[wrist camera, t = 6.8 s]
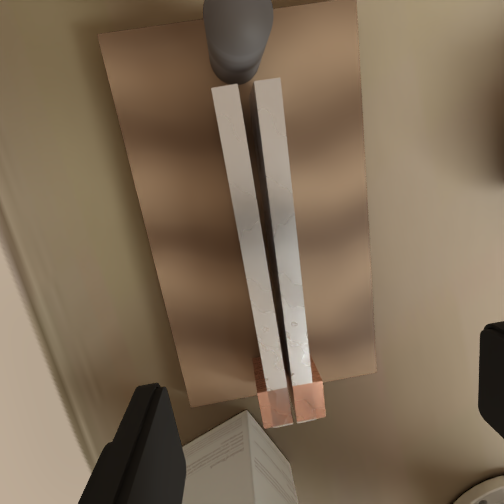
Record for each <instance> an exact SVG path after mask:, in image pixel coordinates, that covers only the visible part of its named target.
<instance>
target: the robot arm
mask: <svg viewBox="0 0 504 504" xmlns="http://www.w3.org/2000/svg"><path fill="white" fill-rule="evenodd" d="M478 408H479V412H480V414H481V416H482V417H483V419H484V420H485V421H486V422H487V423H488V424H489V425H490V426H491V427H492V428H493V429H494V430H495V431H496V432H498V433H499V434H500V435H501V436H502V437H503V438H504V321H503V322H497V323H491V324H488V325H486V326H485V327H484V330H483V331H482V332H481V333H480V357H479V393H478ZM185 480H186V460H185V456H184V452H183V449H182V445H181V441H180V437H179V433H178V429H177V426H176V422H175V418H174V414H173V410H172V407H171V403H170V399H169V395H168V391H167V389H166V387H160V385H159V383H153V384H148V385H142V386H138V387H137V388H136V389H135V392H134V394H133V396H132V399H131V401H130V403H129V405H128V408H127V410H126V412H125V414H124V417H123V419H122V421H121V423H120V426H119V428H118V430H117V432H116V435H115V437H114V439H113V442H110V443H108V444H107V445H106V446H105V447H104V449H103V451H102V453H101V455H100V457H99V459H98V461H97V463H96V466H95V468H94V470H93V472H92V474H91V476H90V478H89V481H88V483H87V485H86V487H85V489H84V491H83V494H82V496H81V498H80V500H79V502H78V504H182V500H183V493H184V486H185ZM453 504H504V475H503V476H498V477H495V478H492V479H489V480H486V481H484V482H482V483H480V484H478V485H476V486H474V487H473V488H471V489H470V490H468V491H467V492H465V493H464V494H463V495H462V496H460V497H459V498H458V499H457V500H456V501H455V502H454V503H453Z"/></svg>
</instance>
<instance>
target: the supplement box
mask: <svg viewBox="0 0 504 504" xmlns="http://www.w3.org/2000/svg"><path fill="white" fill-rule="evenodd" d="M182 449H183V452H184V456H185V460H186V480H185V486H184V493H183V500H182V504H299V503H298V499H297V494H296V489H295V484H294V480H293V475H292V470H291V465H290V463H289V462H288V461H287V459H286V458H285V457H284V455H283V454H282V453H281V452H280V450H279V449H278V448H277V447H276V445H275V444H274V443H273V442H272V440H271V439H270V438H269V437H268V435H267V434H266V433H265V432H264V430H263V429H262V428H261V427H260V426H259V424H258V423H257V422H256V421H255V419H254V418H253V417H252V416H251V414H250V413H249V412H248V411H247V410H245V411H243V412H242V413H240V414H238V415H236V416H234V417H233V418H231V419H229V420H228V421H226V422H224V423H223V424H221V425H219V426H217V427H216V428H214V429H212V430H210V431H209V432H207V433H205V434H203V435H202V436H200V437H198V438H197V439H195V440H193V441H192V442H190V443H188V444H186V445H185V446H183V447H182Z"/></svg>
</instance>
